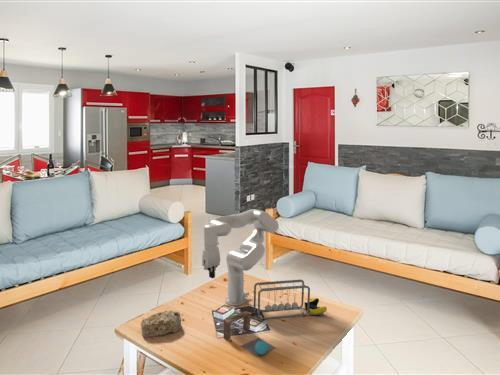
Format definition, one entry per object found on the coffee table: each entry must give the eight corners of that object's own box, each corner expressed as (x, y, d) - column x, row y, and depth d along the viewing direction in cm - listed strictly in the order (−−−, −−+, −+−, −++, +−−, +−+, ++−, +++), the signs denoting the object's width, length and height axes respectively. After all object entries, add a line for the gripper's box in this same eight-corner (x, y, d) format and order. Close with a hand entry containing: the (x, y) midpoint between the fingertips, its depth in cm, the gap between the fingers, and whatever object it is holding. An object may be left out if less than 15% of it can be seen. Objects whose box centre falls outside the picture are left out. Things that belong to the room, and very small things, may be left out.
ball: (260, 346, 198) (262, 336, 196) (268, 354, 194) (271, 344, 192) (251, 351, 194) (253, 341, 192) (259, 359, 190) (261, 349, 188)
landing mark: (258, 337, 207) (258, 337, 207) (275, 347, 198) (275, 347, 198) (240, 346, 199) (240, 345, 199) (257, 356, 190) (257, 356, 190)
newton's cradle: (302, 307, 242) (303, 278, 239) (309, 315, 232) (310, 285, 229) (253, 312, 235) (253, 282, 233) (257, 320, 225) (258, 290, 222)
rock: (143, 342, 203) (140, 322, 203) (141, 334, 217) (138, 316, 217) (184, 331, 210) (181, 312, 210) (180, 324, 224) (177, 306, 224)
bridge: (223, 337, 207) (223, 319, 205) (246, 328, 217) (246, 310, 215) (227, 340, 205) (227, 322, 203) (249, 330, 214) (250, 313, 213)
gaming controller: (317, 305, 246) (301, 306, 243) (317, 296, 245) (301, 297, 243) (327, 316, 231) (311, 318, 229) (328, 307, 231) (311, 309, 228)
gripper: (217, 241, 237) (217, 271, 240) (196, 248, 226) (197, 279, 230) (225, 244, 231) (226, 275, 235) (205, 251, 221) (205, 283, 224)
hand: (212, 277), depth 232 cm, fingers closed
